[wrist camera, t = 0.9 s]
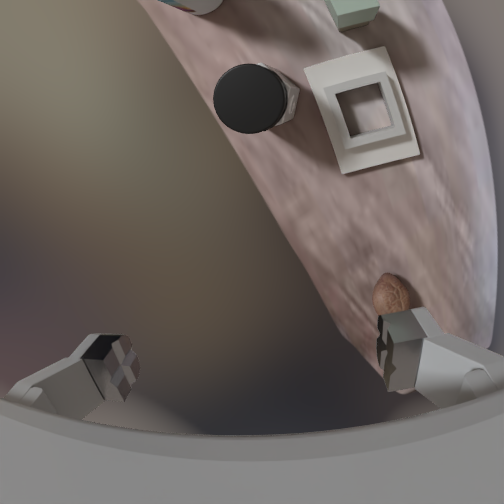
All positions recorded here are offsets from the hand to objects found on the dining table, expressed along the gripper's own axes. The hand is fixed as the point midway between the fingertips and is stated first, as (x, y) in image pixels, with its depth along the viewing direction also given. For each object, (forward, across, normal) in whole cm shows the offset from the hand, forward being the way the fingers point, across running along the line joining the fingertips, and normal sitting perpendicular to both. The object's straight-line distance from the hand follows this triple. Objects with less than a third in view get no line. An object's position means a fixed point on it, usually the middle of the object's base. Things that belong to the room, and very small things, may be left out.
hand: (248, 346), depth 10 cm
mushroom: (+40, -17, +19) cm, 47 cm away
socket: (+37, -14, -9) cm, 41 cm away
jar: (+39, -1, -12) cm, 41 cm away
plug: (+36, -14, -23) cm, 45 cm away
